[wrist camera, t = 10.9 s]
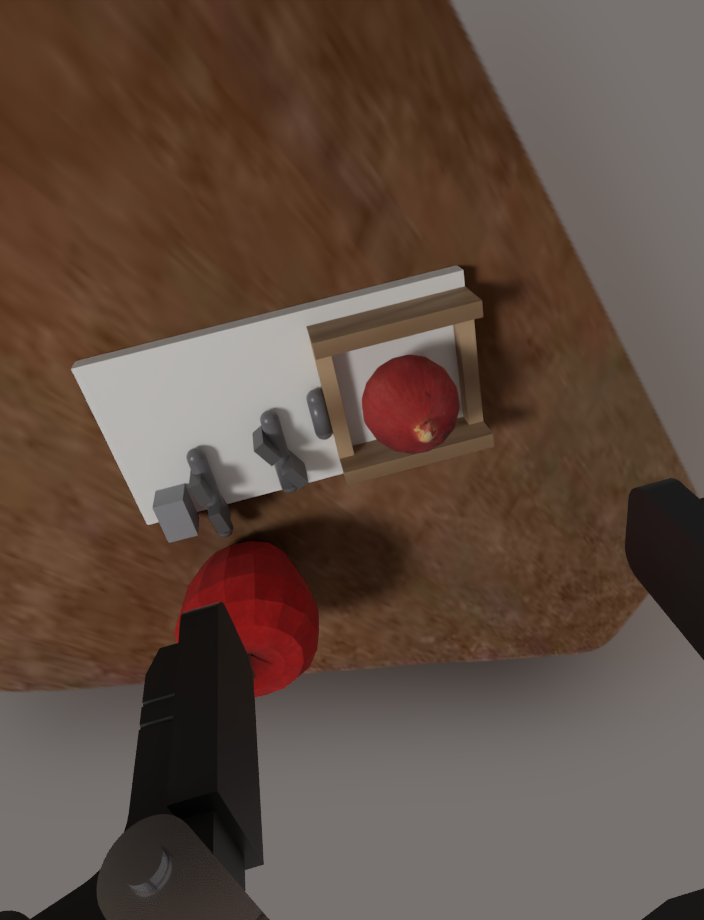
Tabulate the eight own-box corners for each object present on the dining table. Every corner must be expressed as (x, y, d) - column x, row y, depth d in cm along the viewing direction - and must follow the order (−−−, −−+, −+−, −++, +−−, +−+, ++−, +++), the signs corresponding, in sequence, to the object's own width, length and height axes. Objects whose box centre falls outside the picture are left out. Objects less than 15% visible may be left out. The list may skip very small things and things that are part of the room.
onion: (456, 366, 40) (503, 422, 33) (403, 433, 42) (437, 498, 35) (387, 320, 38) (422, 370, 31) (334, 393, 40) (357, 456, 33)
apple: (235, 491, 44) (237, 598, 34) (335, 551, 48) (360, 660, 39) (155, 578, 46) (137, 699, 37) (256, 628, 51) (262, 746, 42)
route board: (75, 361, 37) (61, 385, 34) (456, 265, 38) (477, 280, 35) (160, 537, 44) (155, 570, 41) (476, 453, 45) (493, 480, 42)
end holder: (306, 326, 37) (312, 343, 34) (464, 286, 37) (482, 300, 35) (340, 461, 42) (347, 485, 40) (478, 425, 43) (494, 446, 40)
